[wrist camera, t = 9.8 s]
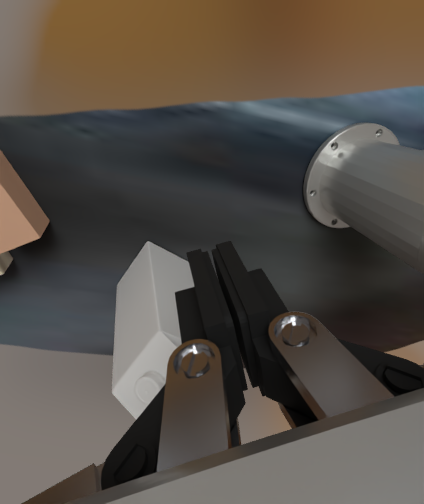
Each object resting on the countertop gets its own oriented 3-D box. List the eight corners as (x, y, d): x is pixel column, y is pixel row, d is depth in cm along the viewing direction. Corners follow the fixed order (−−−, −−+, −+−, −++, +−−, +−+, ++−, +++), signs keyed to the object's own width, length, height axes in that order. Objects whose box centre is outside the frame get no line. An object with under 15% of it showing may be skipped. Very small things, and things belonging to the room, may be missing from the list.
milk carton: (196, 265, 38) (247, 399, 22) (165, 305, 40) (191, 456, 24) (147, 239, 35) (165, 375, 19) (116, 284, 37) (107, 443, 21)
